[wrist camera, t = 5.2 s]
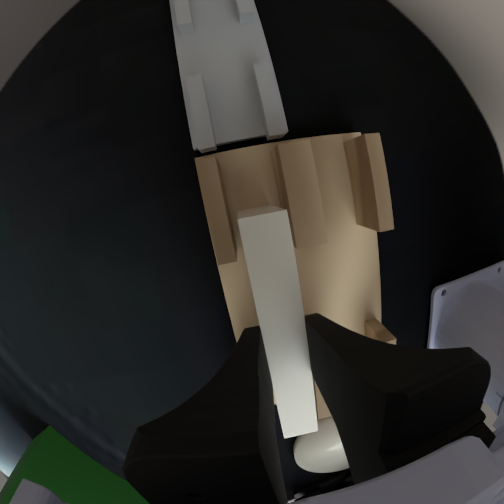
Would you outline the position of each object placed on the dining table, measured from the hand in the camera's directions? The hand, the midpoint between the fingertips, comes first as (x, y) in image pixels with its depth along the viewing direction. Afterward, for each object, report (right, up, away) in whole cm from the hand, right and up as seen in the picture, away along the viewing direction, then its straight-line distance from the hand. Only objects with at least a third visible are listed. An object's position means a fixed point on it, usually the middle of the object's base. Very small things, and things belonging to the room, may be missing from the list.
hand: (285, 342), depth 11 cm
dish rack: (+2, +2, +6) cm, 6 cm away
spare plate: (+7, -13, +9) cm, 17 cm away
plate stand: (-3, +15, +3) cm, 15 cm away
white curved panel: (0, +1, +5) cm, 5 cm away
